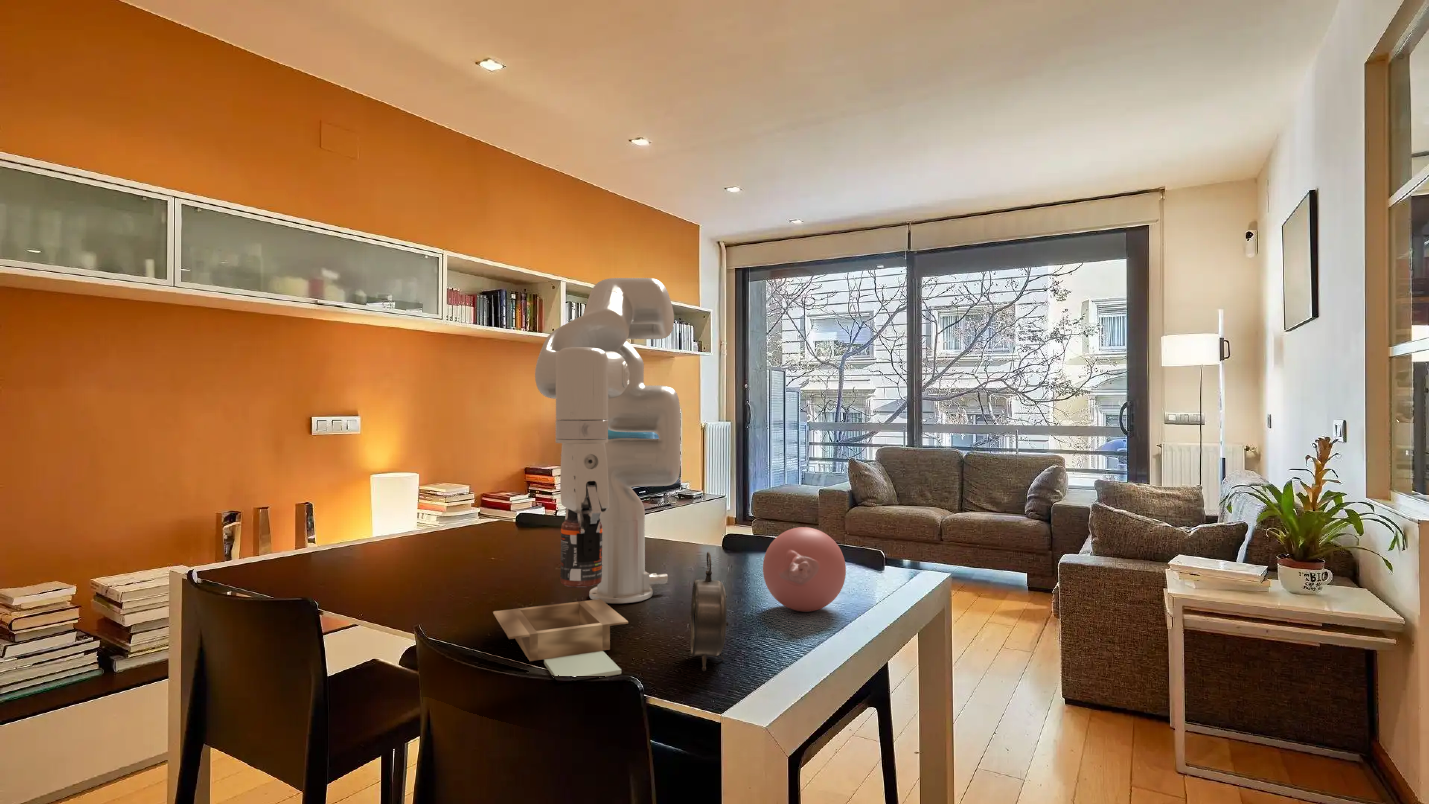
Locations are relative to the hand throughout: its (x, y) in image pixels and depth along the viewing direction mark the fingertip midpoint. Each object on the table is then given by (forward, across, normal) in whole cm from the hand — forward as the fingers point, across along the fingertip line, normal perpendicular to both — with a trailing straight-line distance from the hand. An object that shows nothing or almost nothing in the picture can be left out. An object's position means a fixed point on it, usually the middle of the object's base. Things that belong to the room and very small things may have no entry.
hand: (581, 555), depth 106 cm
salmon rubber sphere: (+16, +11, -44) cm, 48 cm away
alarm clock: (+17, -5, -18) cm, 25 cm away
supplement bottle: (+4, 0, 0) cm, 4 cm away
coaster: (+16, 0, 0) cm, 16 cm away
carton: (+16, +14, 0) cm, 22 cm away
